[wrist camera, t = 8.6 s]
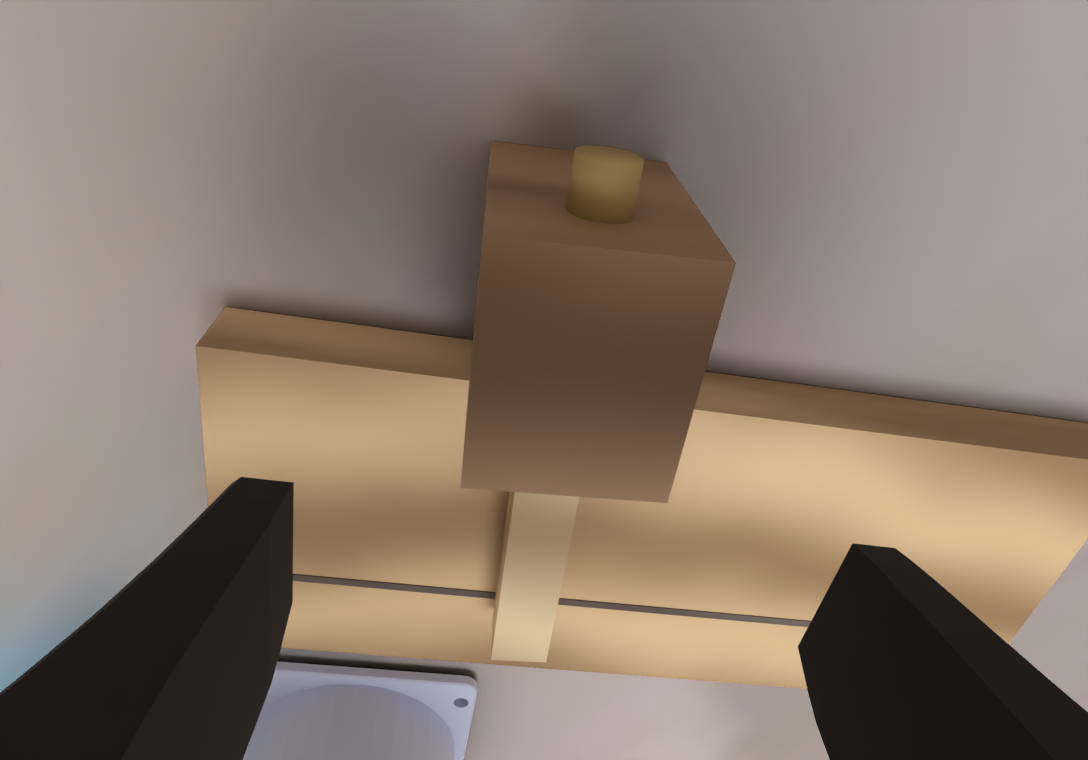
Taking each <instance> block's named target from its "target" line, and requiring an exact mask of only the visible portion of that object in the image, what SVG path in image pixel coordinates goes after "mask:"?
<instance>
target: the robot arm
mask: <svg viewBox="0 0 1088 760" xmlns="http://www.w3.org/2000/svg"><path fill="white" fill-rule="evenodd" d="M293 496H294V482H284V481H275V480H266V479H257V478H248V477H240V478H239V479H237V480H236V481H234V482H233V483H231V484H230V485H229V486H228V487H227V488H226V489H225V490H224V491H223V492H222V494H221V495H220V496H219V497H218V498H217V499H216V500H215V501H214V502H213V503H212V504H211V505H210V506H209V507H208V508H207V509H206V510H205V511H204V512H203V513H202V514H201V515H200V516H199V517H198V518H197V519H196V520H195V521H194V522H193V523H192V524H191V525H190V526H189V527H188V528H187V529H186V530H185V531H184V532H183V533H182V534H181V535H180V536H179V537H178V538H177V539H175V540H174V541H173V542H172V543H171V544H170V545H169V546H168V547H167V548H166V549H165V550H164V551H163V552H162V553H161V554H160V555H159V556H158V557H157V558H156V559H155V560H154V561H153V562H151V563H150V564H149V565H148V566H147V567H146V568H145V569H144V570H143V571H142V572H140V573H139V574H138V575H137V576H136V577H135V578H134V579H133V580H132V581H131V582H130V583H128V584H127V585H126V586H125V587H124V588H123V589H122V590H121V591H120V592H119V593H118V594H116V595H115V596H114V597H113V598H112V599H111V600H110V601H109V602H108V603H107V604H105V605H104V606H103V607H102V608H101V609H100V610H99V611H98V612H96V613H95V614H94V615H93V616H92V617H91V618H90V619H88V620H87V621H86V622H85V623H84V624H83V625H81V626H80V627H79V628H78V629H77V630H75V631H74V632H73V633H72V634H71V635H69V636H68V637H67V638H66V639H65V640H63V641H62V642H61V643H60V644H59V645H57V646H56V647H55V648H54V649H53V650H52V651H50V652H49V653H48V654H47V655H46V656H44V657H43V658H42V659H41V660H40V661H38V662H37V663H36V664H35V665H34V666H32V667H31V668H30V669H29V670H28V671H26V672H25V673H24V674H23V675H22V676H20V677H19V678H18V679H17V680H16V681H14V682H13V683H12V684H11V685H9V686H8V687H7V688H6V689H4V690H3V691H2V692H0V760H464V755H465V751H466V746H467V741H468V736H469V731H470V726H471V721H472V716H473V711H474V707H475V702H476V697H477V682H476V681H475V679H473V678H471V677H469V676H462V675H449V674H436V673H423V672H410V671H397V670H383V669H370V668H357V667H344V666H331V665H318V664H304V663H291V662H278V657H279V653H280V649H281V646H282V642H283V638H284V634H285V630H286V626H287V622H288V618H289V614H290V610H291V606H292V602H293ZM798 650H799V654H800V659H801V663H802V667H803V672H804V676H805V681H806V685H807V689H808V693H809V697H810V701H811V704H812V708H813V712H814V716H815V720H816V723H817V726H818V729H819V731H820V734H821V737H822V740H823V742H824V745H825V748H826V750H827V753H828V756H829V758H830V760H1088V712H1087V711H1085V710H1084V709H1083V708H1082V707H1081V706H1079V705H1078V704H1077V703H1076V702H1075V701H1074V700H1072V699H1071V698H1070V697H1069V696H1068V695H1066V694H1065V693H1064V692H1063V691H1062V690H1061V689H1059V688H1058V687H1057V686H1056V685H1055V684H1054V683H1052V682H1051V681H1050V680H1049V679H1048V678H1047V677H1045V676H1044V675H1043V674H1042V673H1041V672H1040V671H1038V670H1037V669H1036V668H1035V667H1034V666H1033V665H1032V664H1030V663H1029V662H1028V661H1027V660H1026V659H1025V658H1023V657H1022V656H1021V655H1020V654H1019V653H1018V652H1017V651H1015V650H1014V649H1013V648H1012V647H1011V646H1010V645H1009V644H1008V643H1006V642H1005V641H1004V640H1003V639H1002V638H1001V637H1000V636H998V635H997V634H996V633H995V632H994V631H993V630H992V629H990V628H989V627H988V626H987V625H986V624H985V623H984V622H982V621H981V620H980V619H979V618H978V617H977V616H976V615H975V614H973V613H972V612H971V611H970V610H969V609H968V608H967V607H965V606H964V605H963V604H962V603H961V602H960V601H959V600H957V599H956V598H955V597H954V596H953V595H952V594H951V593H949V592H948V591H947V590H946V589H945V588H944V587H942V586H941V585H940V584H939V583H938V582H937V581H935V580H934V579H933V578H932V577H931V576H930V575H928V574H927V573H926V572H925V571H924V570H922V569H921V568H920V567H919V566H917V565H916V564H915V563H914V562H913V561H911V560H910V559H909V558H907V557H906V556H905V555H904V554H902V553H901V552H900V551H898V550H897V549H896V548H891V547H881V546H872V545H863V544H854V543H852V545H851V547H850V549H849V551H848V553H847V555H846V557H845V558H844V560H843V562H842V564H841V566H840V568H839V570H838V572H837V574H836V575H835V577H834V579H833V581H832V583H831V585H830V587H829V589H828V590H827V592H826V594H825V596H824V598H823V600H822V602H821V604H820V606H819V607H818V609H817V611H816V613H815V615H814V617H813V619H812V621H811V622H810V624H809V626H808V628H807V630H806V632H805V634H804V636H803V638H802V639H801V641H800V643H799V645H798Z"/></svg>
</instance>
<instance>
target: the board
mask: <svg viewBox="0 0 1088 760" xmlns="http://www.w3.org/2000/svg"><path fill="white" fill-rule="evenodd" d="M472 342H473V340H467V339H460V338H452V337H445V336H438V335H430V334H423V333H415V332H408V331H400V330H393V329H386V328H378V327H371V326H363V325H356V324H348V323H341V322H334V321H326V320H319V319H311V318H304V317H296V316H289V315H282V314H274V313H267V312H259V311H252V310H244V309H237V308H230V307H225V308H224V309H223V311H222V312H221V313H220V315H219V316H218V317H217V319H216V320H215V321H214V323H213V324H212V325H211V327H210V328H209V329H208V331H207V332H206V333H205V335H204V336H203V337H202V339H201V340H200V341H199V343H198V344H197V345H196V353H197V366H198V379H199V393H200V406H201V419H202V432H203V445H204V458H205V471H206V485H207V498H208V507H209V506H210V505H211V504H212V503H213V502H214V501H215V500H216V499H217V498H218V497H219V496H220V495H221V494H222V492H223V491H224V490H225V489H226V488H227V487H228V486H229V485H230V484H231V483H233V482H234V481H236V480H237V479H239V478H240V477H248V478H257V479H266V480H275V481H284V482H294V496H293V602H292V606H291V610H290V614H289V618H288V622H287V626H286V630H285V634H284V638H283V642H282V646H281V648H292V649H305V650H318V651H331V652H343V653H356V654H369V655H382V656H394V657H407V658H420V659H433V660H445V661H458V662H471V663H484V664H497V665H509V666H522V667H535V668H548V669H560V670H573V671H586V672H599V673H611V674H624V675H637V676H650V677H663V678H675V679H688V680H701V681H714V682H726V683H739V684H752V685H765V686H777V687H790V688H803V689H807V685H806V681H805V676H804V672H803V667H802V663H801V659H800V654H799V650H798V645H799V643H800V641H801V639H802V638H803V636H804V634H805V632H806V630H807V628H808V626H809V624H810V622H811V621H812V619H813V617H814V615H815V613H816V611H817V609H818V607H819V606H820V604H821V602H822V600H823V598H824V596H825V594H826V592H827V590H828V589H829V587H830V585H831V583H832V581H833V579H834V577H835V575H836V574H837V572H838V570H839V568H840V566H841V564H842V562H843V560H844V558H845V557H846V555H847V553H848V551H849V549H850V547H851V545H852V543H854V544H863V545H872V546H881V547H891V548H896V549H897V550H898V551H900V552H901V553H902V554H904V555H905V556H906V557H907V558H909V559H910V560H911V561H913V562H914V563H915V564H916V565H917V566H919V567H920V568H921V569H922V570H924V571H925V572H926V573H927V574H928V575H930V576H931V577H932V578H933V579H934V580H935V581H937V582H938V583H939V584H940V585H941V586H942V587H944V588H945V589H946V590H947V591H948V592H949V593H951V594H952V595H953V596H954V597H955V598H956V599H957V600H959V601H960V602H961V603H962V604H963V605H964V606H965V607H967V608H968V609H969V610H970V611H971V612H972V613H973V614H975V615H976V616H977V617H978V618H979V619H980V620H981V621H982V622H984V623H985V624H986V625H987V626H988V627H989V628H990V629H992V630H993V631H994V632H995V633H996V634H997V635H998V636H1000V637H1001V638H1002V639H1003V640H1004V641H1005V642H1006V643H1008V644H1009V643H1010V641H1011V640H1012V639H1013V637H1014V636H1015V635H1016V633H1017V632H1018V631H1019V629H1020V628H1021V627H1022V625H1023V624H1024V623H1025V621H1026V620H1027V619H1028V617H1029V616H1030V615H1031V613H1032V612H1033V611H1034V609H1035V608H1036V607H1037V605H1038V604H1039V603H1040V601H1041V600H1042V599H1043V597H1044V596H1045V595H1046V593H1047V592H1048V591H1049V589H1050V588H1051V587H1052V585H1053V584H1054V583H1055V581H1056V580H1057V579H1058V577H1059V576H1060V575H1061V573H1062V572H1063V571H1064V569H1065V568H1066V567H1067V565H1068V564H1069V562H1070V561H1071V560H1072V558H1073V557H1074V556H1075V554H1076V553H1077V552H1078V550H1079V549H1080V548H1081V546H1082V545H1083V544H1084V542H1085V541H1086V540H1087V538H1088V423H1084V422H1076V421H1069V420H1062V419H1054V418H1047V417H1039V416H1032V415H1024V414H1017V413H1010V412H1002V411H995V410H987V409H980V408H972V407H965V406H958V405H950V404H943V403H935V402H928V401H920V400H913V399H906V398H898V397H891V396H883V395H876V394H868V393H861V392H854V391H846V390H839V389H831V388H824V387H816V386H809V385H802V384H794V383H787V382H779V381H772V380H764V379H757V378H750V377H742V376H735V375H727V374H720V373H712V372H705V373H704V376H703V380H702V383H701V387H700V390H699V394H698V397H697V401H696V404H695V408H694V411H693V415H692V418H691V422H690V426H689V429H688V433H687V436H686V440H685V443H684V447H683V450H682V454H681V457H680V461H679V464H678V468H677V471H676V475H675V478H674V482H673V486H672V489H671V493H670V496H669V500H668V503H658V502H644V501H630V500H616V499H603V498H589V497H579V502H578V507H577V512H576V517H575V522H574V527H573V532H572V537H571V542H570V546H569V551H568V556H567V561H566V566H565V571H564V576H563V581H562V586H561V591H560V596H559V601H558V606H557V611H556V616H555V621H554V626H553V631H552V636H551V641H550V646H549V651H548V656H547V661H546V663H544V662H524V661H503V660H491V633H492V618H493V611H494V604H495V596H496V589H497V582H498V574H499V567H500V560H501V553H502V545H503V538H504V531H505V523H506V516H507V509H508V502H509V494H510V492H506V491H492V490H479V489H465V488H460V487H461V475H462V463H463V451H464V439H465V427H466V414H467V402H468V390H469V378H470V366H471V354H472Z"/></svg>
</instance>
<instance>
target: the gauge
mask: <svg viewBox="0 0 1088 760" xmlns="http://www.w3.org/2000/svg"><path fill="white" fill-rule="evenodd" d="M734 267H735V261H734V260H733V258H732V257H731V255H730V254H729V253H728V251H727V250H726V248H725V247H724V245H723V244H722V242H721V241H720V240H719V238H718V237H717V235H716V234H715V232H714V231H713V230H712V228H711V227H710V225H709V224H708V222H707V221H706V219H705V218H704V217H703V215H702V214H701V212H700V211H699V209H698V208H697V207H696V205H695V204H694V202H693V201H692V199H691V198H690V196H689V195H688V194H687V192H686V191H685V189H684V188H683V186H682V185H681V183H680V182H679V181H678V179H677V178H676V176H675V175H674V173H673V172H672V171H671V169H670V168H669V166H668V165H667V163H666V162H661V161H652V160H644V159H643V158H642V157H641V156H640V155H638V154H635V153H633V152H630V151H627V150H623V149H619V148H614V147H608V146H600V145H584V146H578V147H576V148H575V149H574V151H571V150H563V149H555V148H547V147H539V146H530V145H522V144H514V143H506V142H498V141H491V144H490V155H489V166H488V177H487V188H486V199H485V210H484V221H483V232H482V243H481V254H480V265H479V276H478V287H477V298H476V309H475V320H474V331H473V342H472V354H471V366H470V378H469V390H468V402H467V414H466V427H465V439H464V451H463V463H462V475H461V487H460V488H465V489H479V490H492V491H506V492H510V494H509V502H508V509H507V516H506V523H505V531H504V538H503V545H502V553H501V560H500V567H499V574H498V582H497V589H496V596H495V604H494V611H493V618H492V633H491V660H503V661H524V662H544V663H546V661H547V656H548V651H549V646H550V641H551V636H552V631H553V626H554V621H555V616H556V611H557V606H558V601H559V596H560V591H561V586H562V581H563V576H564V571H565V566H566V561H567V556H568V551H569V546H570V542H571V537H572V532H573V527H574V522H575V517H576V512H577V507H578V502H579V497H589V498H603V499H616V500H630V501H644V502H658V503H668V500H669V496H670V493H671V489H672V486H673V482H674V478H675V475H676V471H677V468H678V464H679V461H680V457H681V454H682V450H683V447H684V443H685V440H686V436H687V433H688V429H689V426H690V422H691V418H692V415H693V411H694V408H695V404H696V401H697V397H698V394H699V390H700V387H701V383H702V380H703V376H704V373H705V369H706V366H707V362H708V358H709V355H710V351H711V348H712V344H713V341H714V337H715V334H716V330H717V327H718V323H719V320H720V316H721V313H722V309H723V306H724V302H725V299H726V295H727V291H728V288H729V284H730V281H731V277H732V274H733V270H734Z"/></svg>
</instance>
